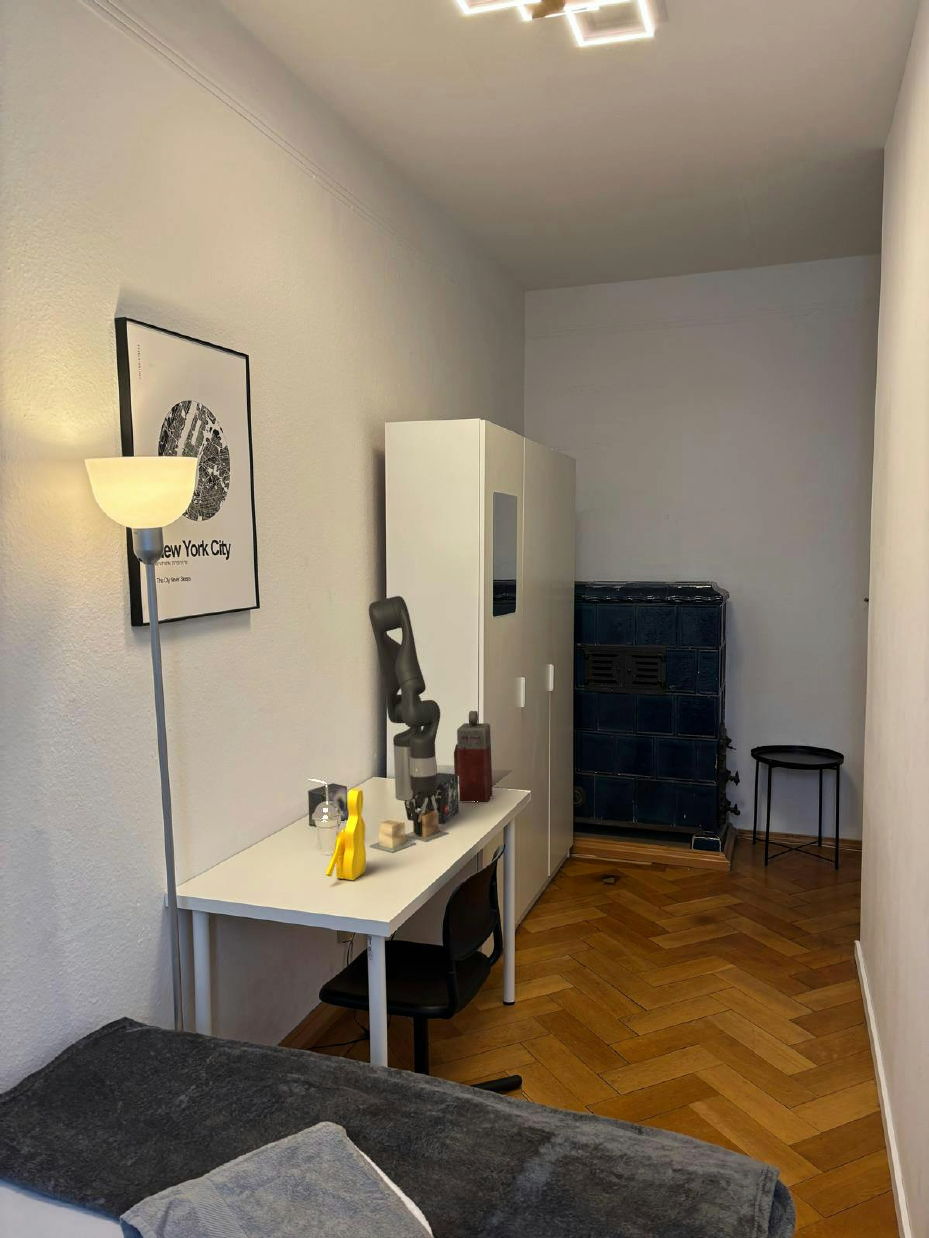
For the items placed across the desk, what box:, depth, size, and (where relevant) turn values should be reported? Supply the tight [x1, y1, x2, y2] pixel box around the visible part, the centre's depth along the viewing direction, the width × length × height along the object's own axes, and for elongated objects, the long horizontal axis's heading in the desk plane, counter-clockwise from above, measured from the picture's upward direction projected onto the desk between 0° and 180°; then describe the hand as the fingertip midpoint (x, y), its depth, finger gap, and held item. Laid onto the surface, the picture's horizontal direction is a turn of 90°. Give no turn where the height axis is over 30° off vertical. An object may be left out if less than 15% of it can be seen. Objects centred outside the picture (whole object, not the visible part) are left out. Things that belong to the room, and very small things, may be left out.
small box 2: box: [426, 772, 460, 825], centre depth 283 cm, size 13×7×12 cm, turn 161°
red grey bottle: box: [453, 710, 493, 803], centre depth 302 cm, size 9×11×28 cm
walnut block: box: [412, 809, 440, 838], centre depth 267 cm, size 5×5×6 cm
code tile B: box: [369, 840, 417, 854], centre depth 259 cm, size 9×9×1 cm
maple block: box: [378, 818, 407, 848], centre depth 258 cm, size 5×5×6 cm
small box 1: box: [307, 782, 349, 828], centre depth 282 cm, size 11×6×10 cm, turn 143°
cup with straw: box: [307, 777, 344, 856], centre depth 254 cm, size 8×9×20 cm
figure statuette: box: [325, 788, 367, 881], centre depth 235 cm, size 18×8×22 cm, turn 159°
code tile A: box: [405, 829, 449, 843], centre depth 267 cm, size 9×9×1 cm
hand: (425, 831), depth 267 cm, fingers open, 5 cm apart
